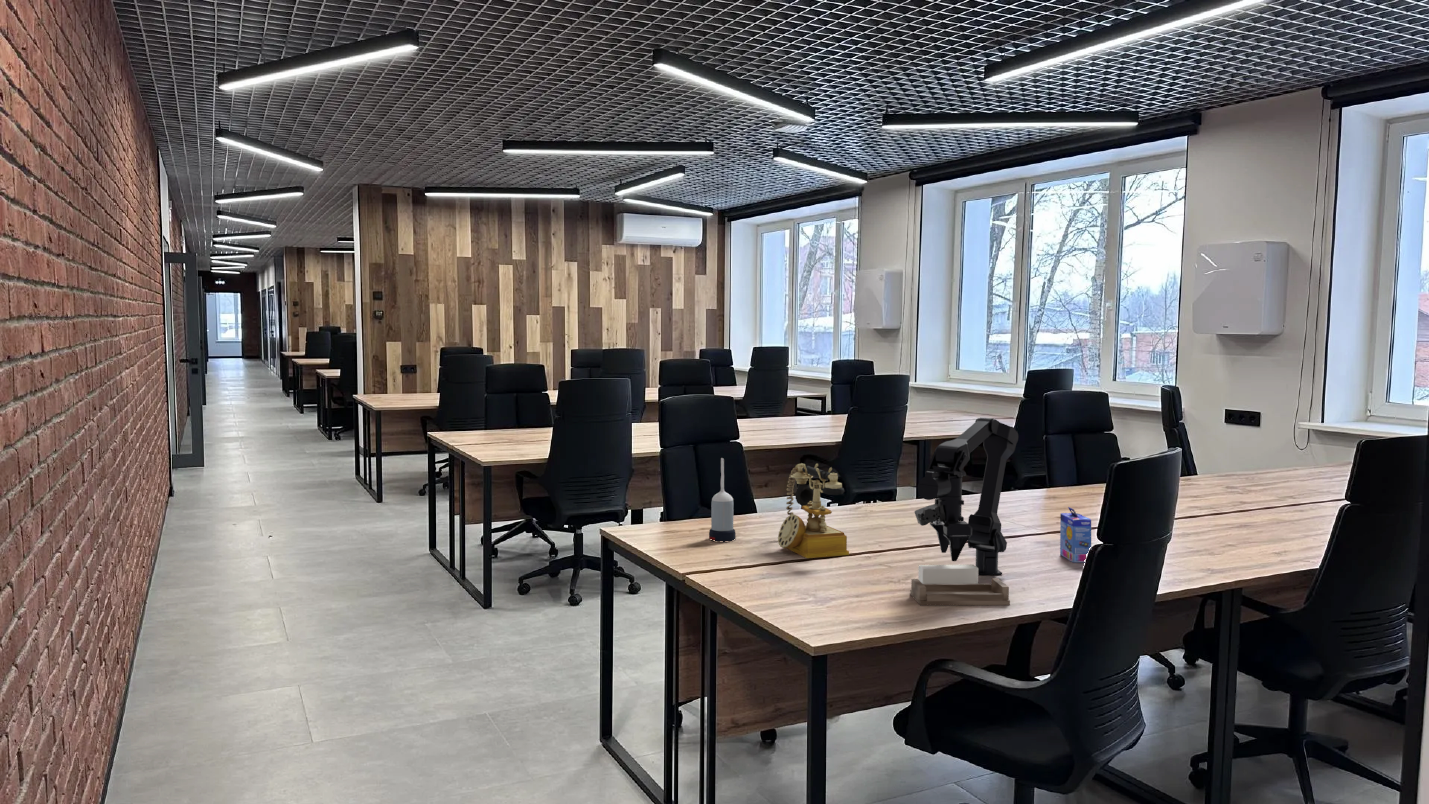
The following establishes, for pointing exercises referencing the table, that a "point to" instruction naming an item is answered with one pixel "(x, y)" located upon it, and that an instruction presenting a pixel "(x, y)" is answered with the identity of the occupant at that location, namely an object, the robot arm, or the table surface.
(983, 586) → the tray
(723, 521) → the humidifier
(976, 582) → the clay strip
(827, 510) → the rotary telephone
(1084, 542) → the ink cartridge box
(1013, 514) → the table surface
